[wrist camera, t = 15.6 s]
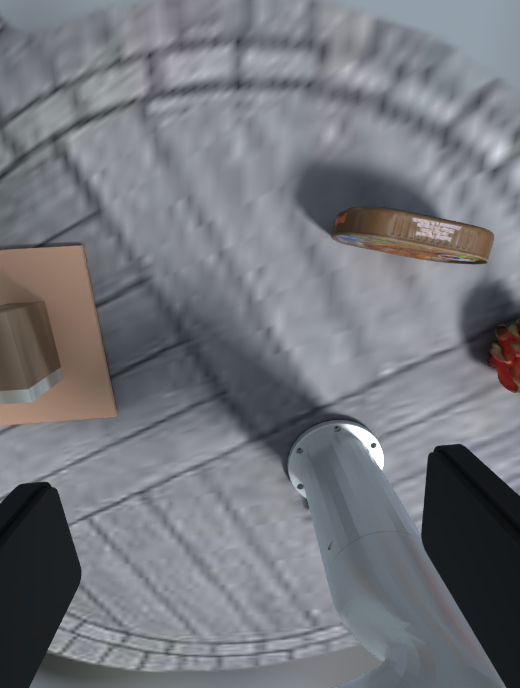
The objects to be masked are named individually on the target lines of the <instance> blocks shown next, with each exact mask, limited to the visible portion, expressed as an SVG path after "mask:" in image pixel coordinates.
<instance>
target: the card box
mask: <svg viewBox="0 0 520 688" xmlns="http://www.w3.org/2000/svg"><path fill="white" fill-rule="evenodd" d="M62 379H64V376H63V372H62V368H61V364H60V360H59V356H58V352H57V348H56V345H55V341H54V337H53V333H52V329H51V325H50V321H49V317H48V313H47V309H46V305H45V301H42V302H25V303H9V304H3V305H0V404H13V403H27V402H33V401H34V400H36V399H37V398H38V397H40V396H41V395H42V394H44V393H45V392H46V391H48V390H49V389H50V388H52V387H53V386H54V385H56V384H57V383H58V382H60V381H61V380H62Z"/></svg>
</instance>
